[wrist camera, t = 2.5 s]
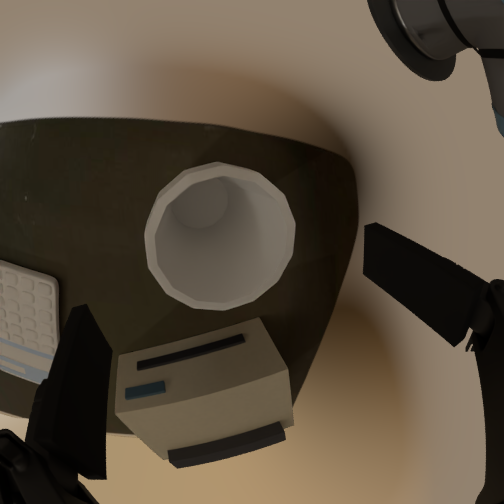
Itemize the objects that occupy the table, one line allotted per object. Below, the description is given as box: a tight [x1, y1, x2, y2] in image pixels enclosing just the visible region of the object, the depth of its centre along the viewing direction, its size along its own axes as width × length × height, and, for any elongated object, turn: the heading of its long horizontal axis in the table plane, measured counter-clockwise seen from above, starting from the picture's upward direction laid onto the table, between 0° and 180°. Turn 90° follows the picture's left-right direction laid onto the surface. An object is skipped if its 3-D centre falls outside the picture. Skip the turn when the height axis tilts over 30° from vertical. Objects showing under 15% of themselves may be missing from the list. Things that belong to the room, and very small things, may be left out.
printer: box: [115, 317, 294, 468], centre depth 32 cm, size 20×14×12 cm
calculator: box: [0, 260, 60, 384], centre depth 25 cm, size 13×20×2 cm, turn 159°
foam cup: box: [144, 162, 296, 311], centre depth 22 cm, size 10×9×13 cm
